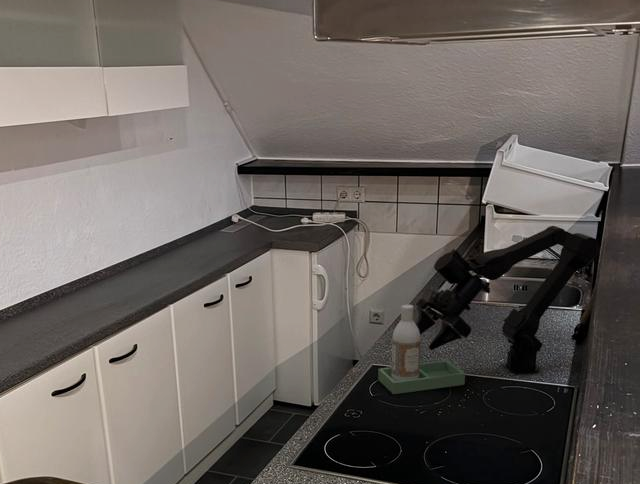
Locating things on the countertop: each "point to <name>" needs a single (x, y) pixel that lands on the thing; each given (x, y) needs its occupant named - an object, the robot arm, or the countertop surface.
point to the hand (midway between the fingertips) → (420, 343)
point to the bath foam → (406, 347)
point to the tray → (424, 378)
